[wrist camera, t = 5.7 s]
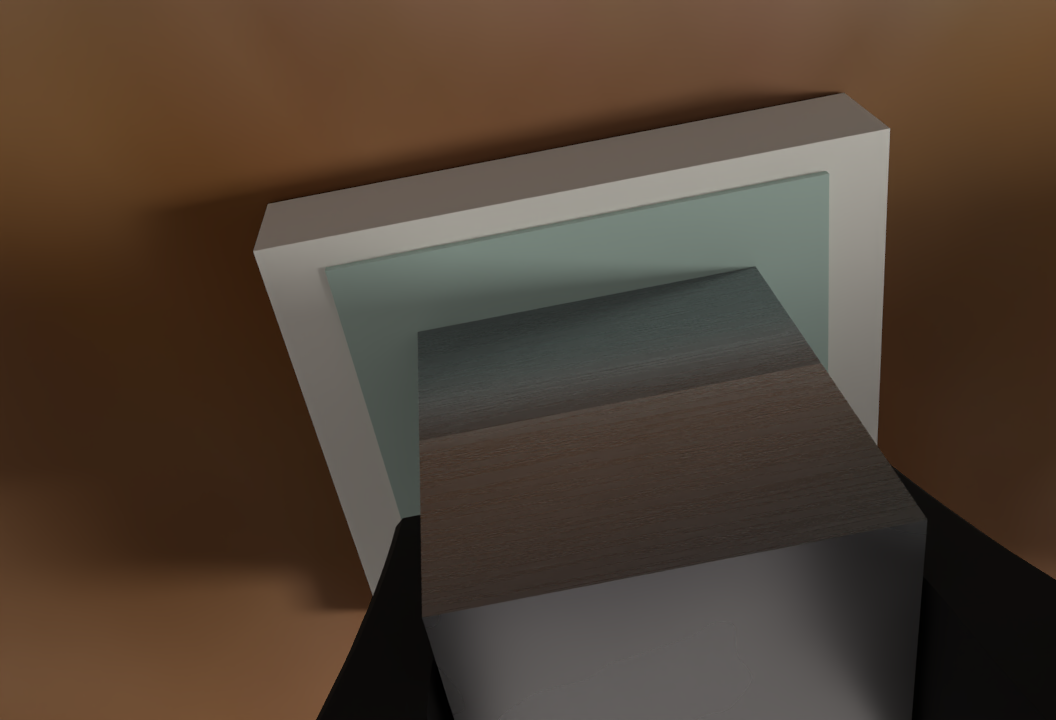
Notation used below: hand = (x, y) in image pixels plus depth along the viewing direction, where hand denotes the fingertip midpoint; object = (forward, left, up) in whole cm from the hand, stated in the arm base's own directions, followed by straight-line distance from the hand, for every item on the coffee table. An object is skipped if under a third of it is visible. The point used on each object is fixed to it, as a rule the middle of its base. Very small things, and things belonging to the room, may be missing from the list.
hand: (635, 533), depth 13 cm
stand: (0, 0, -3) cm, 3 cm away
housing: (0, +1, -2) cm, 2 cm away
